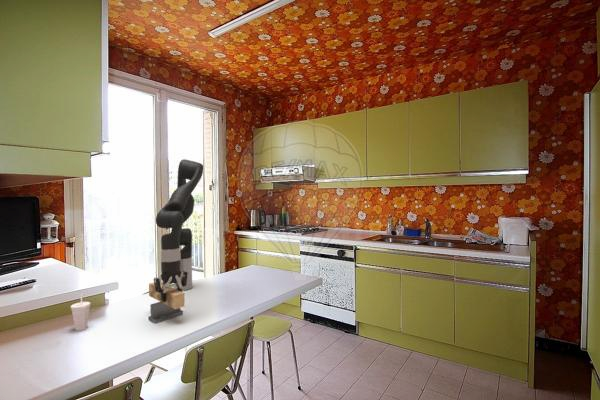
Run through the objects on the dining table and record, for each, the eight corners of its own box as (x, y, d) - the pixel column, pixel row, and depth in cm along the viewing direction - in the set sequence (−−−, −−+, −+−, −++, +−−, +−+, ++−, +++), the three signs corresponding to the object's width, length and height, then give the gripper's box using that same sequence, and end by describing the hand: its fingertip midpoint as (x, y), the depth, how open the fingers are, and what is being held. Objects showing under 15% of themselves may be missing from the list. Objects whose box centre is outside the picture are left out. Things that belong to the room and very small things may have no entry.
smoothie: (78, 333, 116) (77, 297, 115) (67, 331, 118) (66, 295, 118) (95, 326, 122) (94, 291, 121) (83, 324, 124) (82, 290, 124)
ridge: (148, 320, 127) (148, 303, 127) (175, 311, 137) (175, 295, 137) (155, 323, 124) (155, 306, 124) (182, 314, 133) (182, 298, 133)
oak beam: (149, 295, 135) (149, 283, 135) (157, 293, 138) (157, 281, 138) (175, 309, 122) (175, 295, 121) (184, 306, 125) (184, 293, 125)
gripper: (181, 255, 135) (182, 293, 135) (149, 261, 123) (150, 302, 124) (191, 257, 130) (192, 296, 130) (158, 263, 119) (159, 306, 119)
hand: (171, 299), depth 127 cm, fingers open, 6 cm apart
